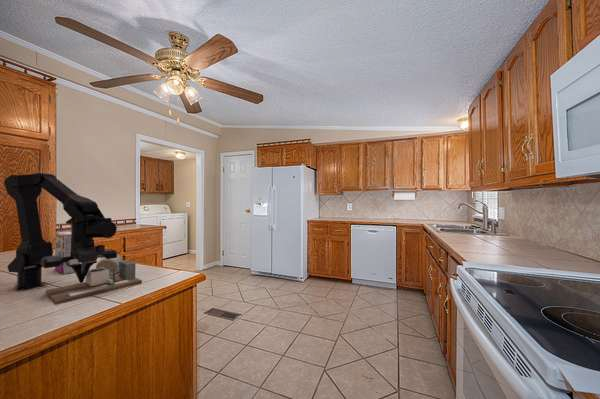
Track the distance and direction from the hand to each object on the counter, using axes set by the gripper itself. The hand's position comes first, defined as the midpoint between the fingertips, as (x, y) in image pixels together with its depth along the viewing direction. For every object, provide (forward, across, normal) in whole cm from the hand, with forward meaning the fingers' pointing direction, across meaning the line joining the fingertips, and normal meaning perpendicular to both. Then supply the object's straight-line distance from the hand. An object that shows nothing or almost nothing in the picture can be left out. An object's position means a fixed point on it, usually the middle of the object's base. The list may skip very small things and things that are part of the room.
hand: (81, 282), depth 83 cm
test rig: (+2, +4, -2) cm, 5 cm away
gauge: (+1, +6, -2) cm, 6 cm away
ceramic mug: (+3, +14, +14) cm, 20 cm away
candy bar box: (+3, +2, +32) cm, 32 cm away
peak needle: (0, +7, -6) cm, 10 cm away
